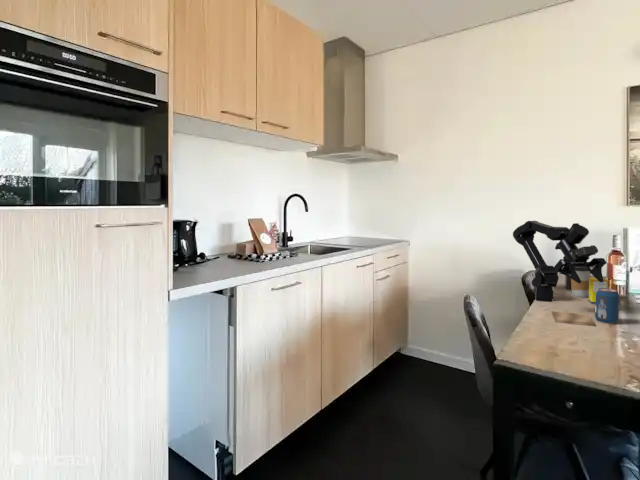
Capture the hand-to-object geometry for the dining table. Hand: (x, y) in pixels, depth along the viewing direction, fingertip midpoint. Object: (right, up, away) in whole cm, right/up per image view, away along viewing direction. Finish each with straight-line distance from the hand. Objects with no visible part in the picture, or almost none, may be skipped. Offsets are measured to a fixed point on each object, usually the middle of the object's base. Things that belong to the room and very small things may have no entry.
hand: (591, 282), depth 146 cm
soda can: (+1, -14, -6) cm, 15 cm away
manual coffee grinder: (+30, -9, +52) cm, 61 cm away
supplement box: (+18, -12, +21) cm, 30 cm away
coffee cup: (+18, -11, +33) cm, 39 cm away
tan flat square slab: (-10, -14, -3) cm, 17 cm away
